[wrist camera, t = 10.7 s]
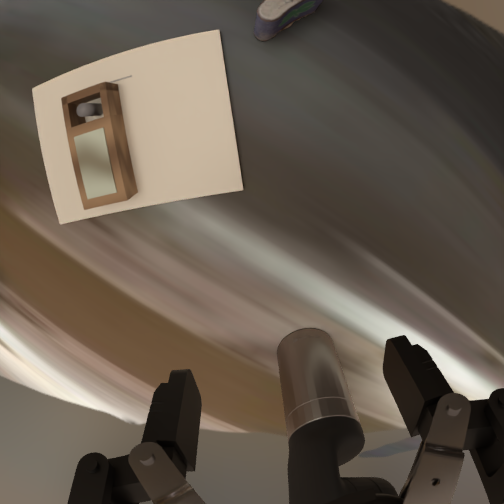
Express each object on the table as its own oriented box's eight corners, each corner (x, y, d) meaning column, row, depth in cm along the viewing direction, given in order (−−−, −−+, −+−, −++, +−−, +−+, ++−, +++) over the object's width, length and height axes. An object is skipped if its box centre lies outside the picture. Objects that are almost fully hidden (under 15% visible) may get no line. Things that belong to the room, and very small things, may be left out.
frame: (138, 192, 38) (126, 200, 34) (97, 201, 38) (83, 210, 34) (117, 84, 32) (104, 81, 28) (76, 98, 32) (60, 97, 28)
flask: (262, 45, 32) (269, 19, 22) (246, 28, 31) (248, -3, 21) (321, 9, 30) (346, -22, 20) (306, -7, 29) (326, -43, 19)
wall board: (243, 188, 39) (243, 199, 34) (63, 221, 40) (43, 236, 35) (219, 32, 31) (215, 18, 26) (36, 88, 32) (13, 88, 27)
